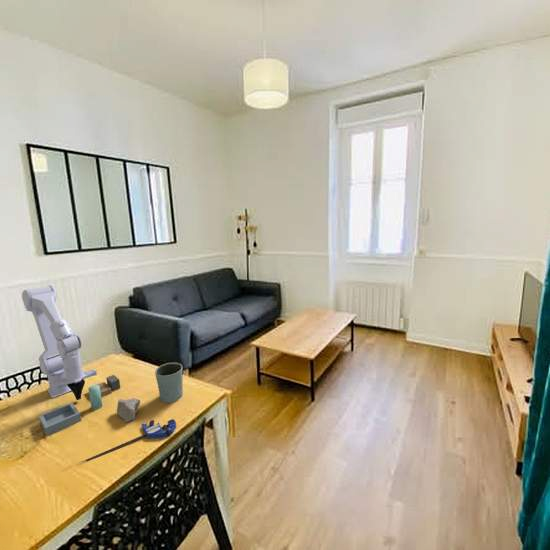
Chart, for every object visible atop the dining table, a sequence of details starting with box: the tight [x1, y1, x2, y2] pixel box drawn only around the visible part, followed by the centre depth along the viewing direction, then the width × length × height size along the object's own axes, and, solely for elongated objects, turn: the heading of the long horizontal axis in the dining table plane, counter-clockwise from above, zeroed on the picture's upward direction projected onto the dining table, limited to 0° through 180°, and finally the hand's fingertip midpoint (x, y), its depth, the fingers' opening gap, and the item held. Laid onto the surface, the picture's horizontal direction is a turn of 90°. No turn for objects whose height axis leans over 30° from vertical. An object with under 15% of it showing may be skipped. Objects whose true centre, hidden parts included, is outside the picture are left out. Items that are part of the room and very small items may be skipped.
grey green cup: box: [154, 362, 184, 404], centre depth 119 cm, size 10×10×12 cm
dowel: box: [88, 384, 103, 411], centre depth 115 cm, size 4×4×8 cm
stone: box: [116, 397, 141, 423], centre depth 110 cm, size 10×8×6 cm
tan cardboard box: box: [96, 381, 113, 398], centre depth 125 cm, size 8×6×2 cm
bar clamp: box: [78, 418, 177, 465], centre depth 96 cm, size 32×2×10 cm
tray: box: [38, 402, 82, 437], centre depth 107 cm, size 10×10×3 cm
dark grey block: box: [105, 374, 121, 392], centre depth 128 cm, size 6×3×4 cm, turn 47°
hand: (78, 398), depth 119 cm, fingers closed
